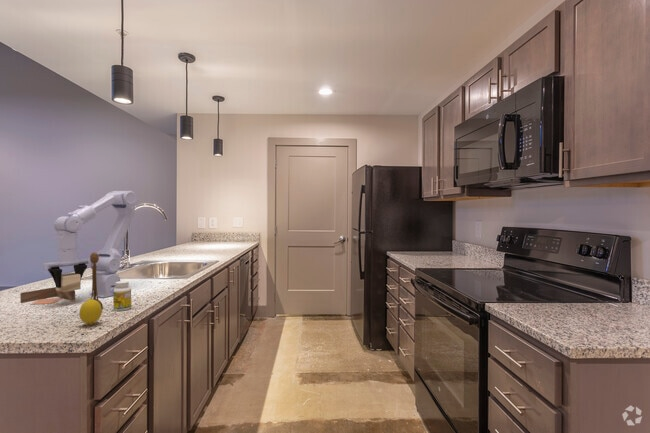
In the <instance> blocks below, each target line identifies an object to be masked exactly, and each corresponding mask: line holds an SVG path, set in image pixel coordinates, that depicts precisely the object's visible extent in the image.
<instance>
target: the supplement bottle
mask: <svg viewBox="0 0 650 433" xmlns="http://www.w3.org/2000/svg"><path fill="white" fill-rule="evenodd" d="M129 284H130V281H128V280H120V281H119V282H116V283H115V286H116V288H115V289H114V290H113V296H112V297H113V300H112V301H113V310H114V311H116V312H123V311H128V310H130V309H131V308H132V288H131V287H130V286H129Z"/></svg>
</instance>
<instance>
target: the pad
mask: <svg viewBox="0 0 650 433" xmlns="http://www.w3.org/2000/svg"><path fill="white" fill-rule="evenodd" d="M62 299H63V298H60V297H57V298H56V297H55V298H54V297H51V298H45V299H40V300H35V301H33V302H32V303H30V304H29V305H33V306H34V305H46V304H54V303H56V302H58V301H60V300H62Z"/></svg>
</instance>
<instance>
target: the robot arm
mask: <svg viewBox="0 0 650 433" xmlns="http://www.w3.org/2000/svg"><path fill="white" fill-rule="evenodd" d="M138 201H139V200H138V197H137V195H136V193H135V192H134V191H132V190H112V191H110V192H108V193H106V194H105V195H104V196H103V197H101V198H100V199H98V200H97V201H95V202H94V203H92V204H90V205H86V204H85V205H79V206H78V208H77V209H75V210H74V211H72V212H71V211H70V212H68V213H67V215H66V216H60V217H58V218H56V220H55V221H54V223H53V228H54V230H55V231H56V236H57V255H58V256H57V261H51V262H45V263H42V269H43V270H47V271H48V273H49V274H50V275H51V277H52V279H53V282H54V284H55V287H57V288H61V275H62V274H63V269H62V268H65V267H71V266H73V270H74V273H76V274H80V279H81V280H82V278H83V275H84V273H85V271H86V270H87V269H88V265H89V266H90V269H91V270H92V266H93V263H91V261H90V257H88V258H86V257H85V258H78V254H79V253H78V248H79V247H78V231H80V230H81V228H82V227H83V225H84V224H87V223H88V222H90V221H91V220H93V219H94V218H95V217H96V216H97V213H98V212H101V211H102V210H105V209H106V208H108V207H110V206H111V207H112V208H114V210H115V211H116V212H117V214H118V216H117V217H116V220H115V222H114V223H113V227H112V229H111V231H110V233H109V235H108V238H107V240H106V242H105V244H104V246H103V248H101V249H100V250H98V251H97V252H96V253H97V254H98V256H99V260H98V262H97V263H96V266H97V267H96V278H97V294H98V298H101V299H102V298H108V297H113V290H114V289H115V288H116V286H115V283H116V282H119V281H121V278H120V276H119V275H118V274H117V272H118V270H119V269H120V266H121V260H122V254H121V253H120V252H119V251H120V248H121V246H122V245H123V243H124V239H125V237H126V235H127V233H128V230H129V228H130V225H131V224H132V221H133V218H134V217H135V212H136V211H135V210H136V205H137V203H138ZM89 295H90V296H92V292H91V293H89Z"/></svg>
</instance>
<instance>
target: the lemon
mask: <svg viewBox="0 0 650 433" xmlns="http://www.w3.org/2000/svg"><path fill="white" fill-rule="evenodd" d="M102 312H103V309H102V308H101V305H100V303H99V302H98V301H96V300H93V298H92V299H91V298H89V299H87V300H86V301H84V302H83V303H82V304H81V306H80V309H79V318H80V320H81V322H83V323H85V324H88V325H90V326H92V325H93V324H94V323H96V322H98V320H99V319H100V318H101V316H102Z"/></svg>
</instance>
